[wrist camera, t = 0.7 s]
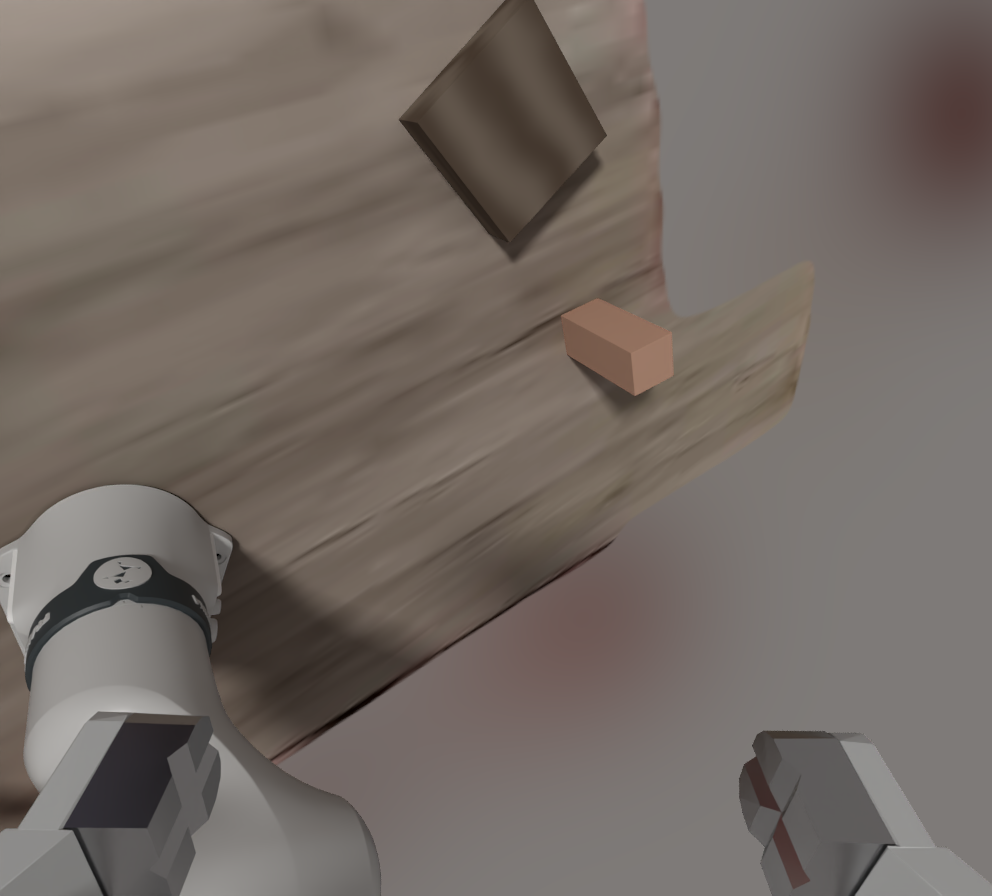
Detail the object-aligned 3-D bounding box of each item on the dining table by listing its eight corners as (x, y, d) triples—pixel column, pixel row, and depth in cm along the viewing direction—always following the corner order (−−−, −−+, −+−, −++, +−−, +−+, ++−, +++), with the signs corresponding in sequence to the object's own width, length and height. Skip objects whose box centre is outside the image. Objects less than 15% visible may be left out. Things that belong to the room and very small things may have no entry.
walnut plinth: (489, 233, 60) (510, 242, 57) (398, 119, 51) (417, 122, 48) (581, 132, 59) (606, 135, 56) (505, -1, 51) (531, -5, 48)
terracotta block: (567, 354, 71) (634, 396, 62) (560, 315, 68) (630, 353, 59) (602, 337, 73) (673, 375, 64) (597, 298, 70) (671, 332, 61)
